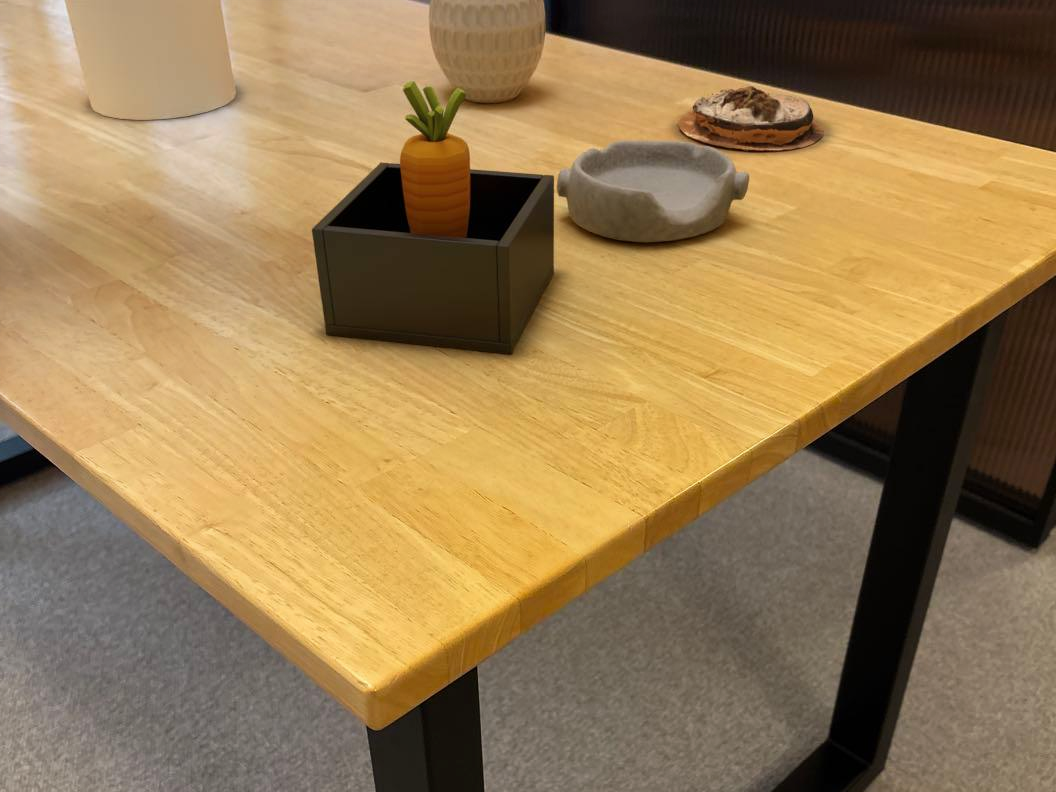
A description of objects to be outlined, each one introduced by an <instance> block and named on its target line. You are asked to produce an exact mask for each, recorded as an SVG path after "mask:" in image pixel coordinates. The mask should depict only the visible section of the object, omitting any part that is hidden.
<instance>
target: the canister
mask: <svg viewBox="0 0 1056 792" xmlns="http://www.w3.org/2000/svg"><path fill="white" fill-rule="evenodd" d="M64 5H65V7H66V12H67V17H68V20H69V25H70V27H71V33H72V35H73V39H74V43H75V48H76V51H77V55H78V58H79V63H80V68H81V72H82V75H83V80H84V84H85V87H86V88H85V89H86V92H87V96H88V99H89V104H90V106H91V108H92V110H93V111H94V112H95V113H98V114H99V115H102V116H104V117H110V118H114V119H118V120H133V121H135V120H136V121H149V120H150V121H151V120H153V121H154V120H169V119H176V118H184V117H190V116H195V115H198V114H199V115H200V114H203V113H208V112H211V111H215V110H216V109H219V108H222V107H224V106H226V105H228V104H229V103H231V102H232V101H234V100H235V97H236V93H237V91H236V84H235V79H234V73H233V66H232V59H231V55H230V54H231V53H230V49H229V42H228V38H227V31H226V25H225V19H224V13H223V9H222V8H223V7H222V1H221V0H64Z"/></svg>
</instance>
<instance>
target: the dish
mask: <svg viewBox="0 0 1056 792" xmlns="http://www.w3.org/2000/svg"><path fill="white" fill-rule="evenodd" d="M557 175H558V176H557V180H556V192H557V195H558V196H559V197H560V198H565V199H566V203H567V211H568V215H569V217H570V219H571V220H572V221H573V222H574V223H575V224H576V225H577V226H579V227H581V228H582V229H584V230H586V231H587V232H590V233H593V234H594V235H598V236H601V237H604V238H608V239H613V240H618V241H625V242H633V243H634V242H635V243H658V242H661V243H662V242H671V241H679V240H683V239H688V238H693V237H698V236H701V235H704V234H706V233H709V232H711V231H714V230H715V229H717V228H718V227H720V226H721V225H722V224H723V223H725V221H726V219H727V217H728V214H729V212H730V209H731V205H732V203H733V201H742V200H744V198H745V196H746V194H747V191H748V189H749V183H750V174H749V173H748V171H737V169H736V167H735V164H734V162H733V160H732V159H731V158H730V157H729V155H727V154H726V153H724V152H722V151H721V150H718V149H717V148H715V147H711V146H708V145H699V144H698V145H697V144H696V143H695V142H690V141H683V140H682V141H681V140H616V141H612V142H611V143H610V144H608V145H607V146H606V147H605V148H603V149H598V148H595V147H593V148H589V149H587V150H586V151H583V152H582V153H580V154H579V155H578V156H577V157H576V158H575V160H574V161H573V163H572V165H571V167H570V168H569V169H567V168H564V167H563V168H561V170H560V171H559V173H558V174H557Z"/></svg>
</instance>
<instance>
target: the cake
mask: <svg viewBox="0 0 1056 792" xmlns="http://www.w3.org/2000/svg"><path fill="white" fill-rule="evenodd" d="M719 93H720V94H718V93H716V94H714V92H713V93H711V95H712V96H709V95H710V94H707V96H709V97H704V96H701V98H698V99H697V100H696V101H695V102H694V103H693V106H692V111H690V112H688V113H686V114H684V115H683V116H681V118H680V119H679V121H678V128H679V129H680V130H681V131H682V133H683V134H685V135H686V136H687V137H690V138H692V139H694V140H697V141H700V142H701V143H703V144H709V145H713V146H717V147H718V146H719V147H723V148H726V149H727V148H728V149H737V150H738V149H739V150H743V151H745V152H748V151H751V152H752V151H783V150H788V151H789V150H795V149H798V148H806V147H808V146H811V145H813V144H815V143H816V142H818V141H819V140H821V139H822V138H823V137H824V132H825V129H824V128H823V126H822V125H821V123H819V122H818V121H816V120H815V119H814V112H813V109H812V107H811V105H810V103H809V102H808V100H807V99H804V98H802V97H796V96H795V95H793V94H792V95H787V94H782V93H772V94H771V93H770V92H765V91H763V90H761V89H758V88H757V87H755V86H754V85H753V86H752V85H747V86H745V87H740V88H739V87H738V89H733V88H728V89H720V90H719Z"/></svg>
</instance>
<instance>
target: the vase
mask: <svg viewBox="0 0 1056 792" xmlns="http://www.w3.org/2000/svg"><path fill="white" fill-rule="evenodd" d="M546 20H547V19H546V9H545V2H544V0H430V1H429V7H428V27H429V30H428V31H429V36H430V45H431V47H432V51H433V54H434V58H435V60H436V62H437V64H438V66H439V68H440V70H441V72H442V73H443V75H444V76H445V78H446V79H447V81H448V83H449V84H450V86H452V87H453V88H454V90H456V89H457V88H459V89H461V90H463V91H464V92H465V93H466V94H467V95H466V97H465V99H464V100H466V101H468V102H472V103H476V104H477V103H478V104H496V103H497V104H498V103H499V104H500V103H504V102H509V101H511V100H514V99H515V98H516V97H517V96H518V95H519V94H520V93H521V92H522V91H523V90H524V89H525V87H526V86H527V84H528V83H529V82H530V80H531V79H532V77H533V75H534V73H535V72H536V70H537V67H538V65H539V62H540V61H541V58H542V56H543V55H542V54H543V51H544V46H545V40H546V32H547V31H546V29H547V27H546V23H547V21H546Z"/></svg>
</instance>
